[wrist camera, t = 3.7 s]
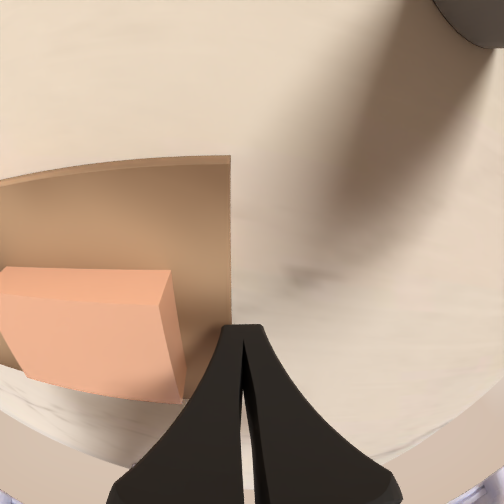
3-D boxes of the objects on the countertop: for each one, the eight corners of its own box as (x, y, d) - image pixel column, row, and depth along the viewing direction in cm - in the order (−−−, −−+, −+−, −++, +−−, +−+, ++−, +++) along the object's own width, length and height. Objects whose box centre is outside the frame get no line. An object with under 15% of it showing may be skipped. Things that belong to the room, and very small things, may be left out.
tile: (170, 270, 10) (158, 305, 8) (186, 368, 12) (182, 404, 10) (6, 266, 9) (-19, 290, 7) (42, 350, 11) (27, 377, 9)
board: (232, 370, 15) (233, 399, 13) (9, 344, 14) (-3, 363, 12) (230, 155, 10) (229, 163, 8) (-45, 192, 9) (-67, 204, 7)
